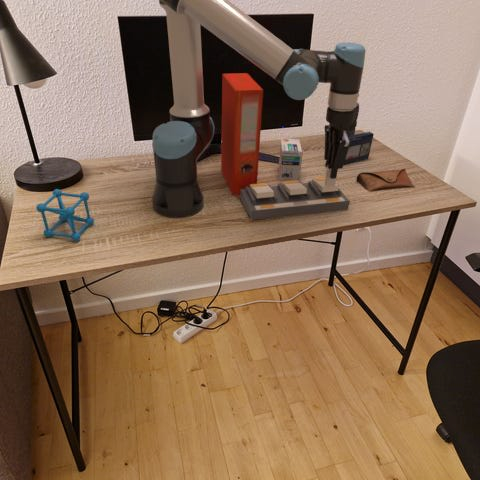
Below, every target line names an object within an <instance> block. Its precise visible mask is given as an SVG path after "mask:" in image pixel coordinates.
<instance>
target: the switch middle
mask: <svg viewBox="0 0 480 480" xmlns="http://www.w3.org/2000/svg"><path fill="white" fill-rule="evenodd" d="M300 182H301V181H297V180H293V181H281V183H280V184H281V186H282V187H283V189H284V190H285V191H286V192H287V193H289V194H290V195H297V194H307V188H306V187H305V186H303V185H302V184H301V183H302V182H301V183H300Z"/></svg>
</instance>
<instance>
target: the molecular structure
mask: <svg viewBox="0 0 480 480" xmlns="http://www.w3.org/2000/svg"><path fill="white" fill-rule="evenodd" d="M62 196H64V197H65V196H66V197H73V198H79V200H78V201H76V202H75V203H74V205H72V206H67V207H65V203H64V202H63V200H62ZM55 198H56V199H57V204H58V208H56V207H48V205H49V204H50V203H51V202H52V201H53V200H55ZM89 199H90V195H89V193H88V192H85V191H83V192H82V193H80V194H77V193H71V192H63V191H62V190H61V189H60V188H59V189H58V188H55V189H54V190H53V191H52V196H51V197H50V198H48V199H47V200H45V202H44V203H42V202H41V203H38V204H37V205H36V211H37V212H38V213H40V214H41V217H42V221H43V224H44V228H45V230H43V236H44V237H45V238H48V239H49V238H51V237H53V236H57V237H64V238H70V239H71V240H72V241H73V242H78V241H80V240H81V234H82V233H83V232H84V231H85V229H86V228H87V227H88V226H92V225H94V223H95V219H94V218H93V217H91V216H90V215H91V214H90V210H89V206H88V201H89ZM82 202H83V204H84V208H85V213H86V218H85V217H81V216H78V215H75V213H76V210H75V209H76V208H77V207H78V206H79V205H80V204H82ZM45 212H48V213H49V212H50V213H54V214H57V215H59V216H58V221H57V222H56V223H55V224H53V226H51V228H50V227H49V225H48V222H47V217H46V213H45ZM66 222H67V223H68V225H69V227H70V230H71V232H72V233H71V234H70V233H69V234H67V233H61V232H54V230H55V229H56V228H57V227H59V226H60V224H61V223H66ZM75 222H84V223H85V224H84V225H83V226H82V227H81V228H80V229H79V230H78V231H77V230H76V225H75Z"/></svg>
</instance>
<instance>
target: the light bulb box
mask: <svg viewBox="0 0 480 480" xmlns="http://www.w3.org/2000/svg"><path fill="white" fill-rule="evenodd" d="M279 145H280V146H279V156H278V157H279V159H278V172H279V181H280V182H283V181H293V180H297V181H299V182H301V181H300V179H301V171H302V160H303V152H304V151H303V148H302V145H301V139H297V138H295V139H293V138H280V144H279Z"/></svg>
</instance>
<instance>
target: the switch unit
mask: <svg viewBox="0 0 480 480" xmlns="http://www.w3.org/2000/svg"><path fill="white" fill-rule="evenodd" d="M299 182H300V183H301V184H302V185H303V186H305V187H306V188H307V194H297V195H290V194H289V193H287V192H286V191H285V190H284V189H283V187H282V186H281V184H282V183H277V185H271V184H267V185H268V186H269V187H270V188H271V189H272V190H273V191H274V197H267V198H256V197H255V195H254V194H253V193H252V192H251V190H250V188H249V187H246V189H240V195H239V199H240V200H241V203H242V204H243V206H244V208H245V211H246V213H247V215H248V217H249V220H250V221H256V220H257V221H258V220H267V219H274V218H275V219H276V218H284V217H294V216H302V215H303V216H304V215H311V214H312V215H313V214H319V213H320V214H321V213H322V214H323V213H330V212H331V213H332V212H338V211H339V212H341V211H347V210H349V207H350V201H351V200H349V198H348V197H347V196H346V195H345V194H344V193H343V191H342V190H341V189H340V188H339V187H338V191H331V192H321V191H320V190H319V189H318V188H317V187H316V186H315V185H314V184H313V183H312V180H308V181H307V182H305V183H302V182H301V181H299Z"/></svg>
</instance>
